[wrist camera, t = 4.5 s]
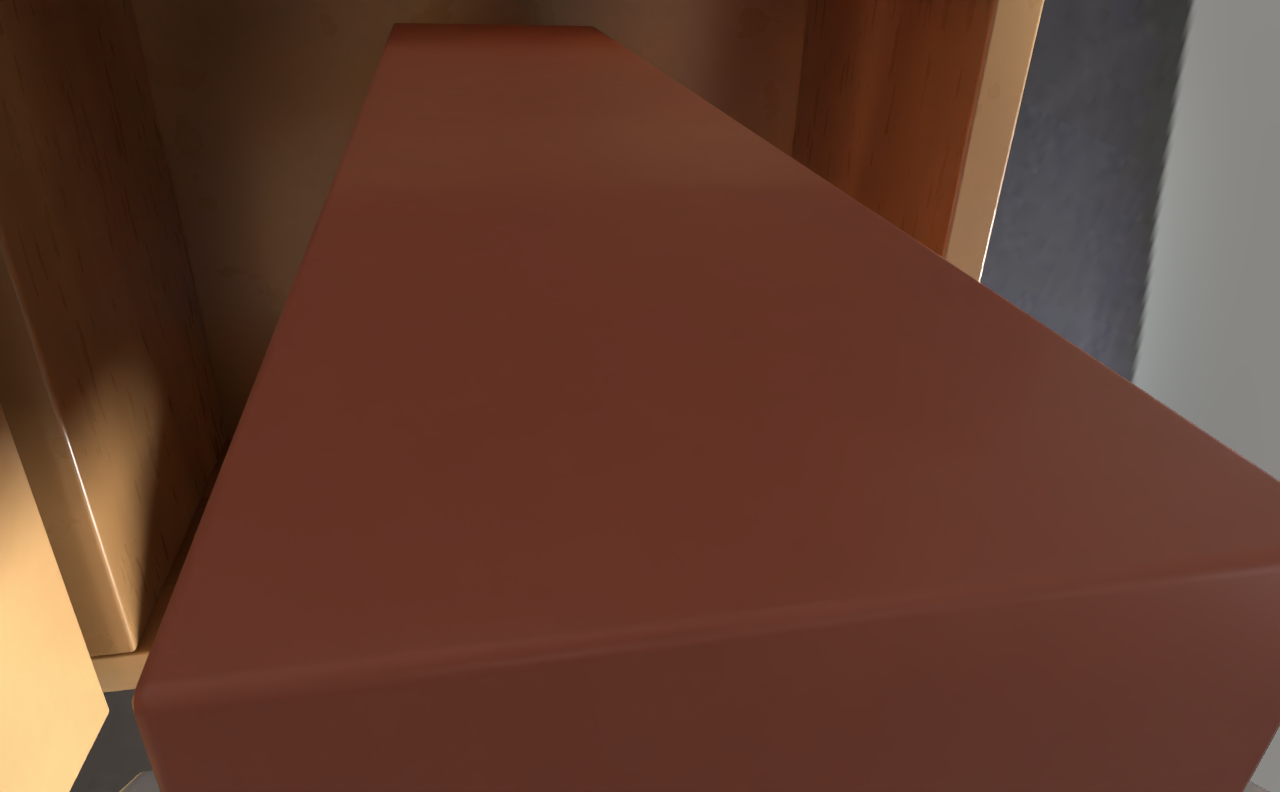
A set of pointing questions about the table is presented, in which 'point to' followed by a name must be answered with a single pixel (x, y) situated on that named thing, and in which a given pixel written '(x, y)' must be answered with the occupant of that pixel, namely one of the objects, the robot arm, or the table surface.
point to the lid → (39, 650)
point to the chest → (299, 183)
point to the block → (688, 486)
